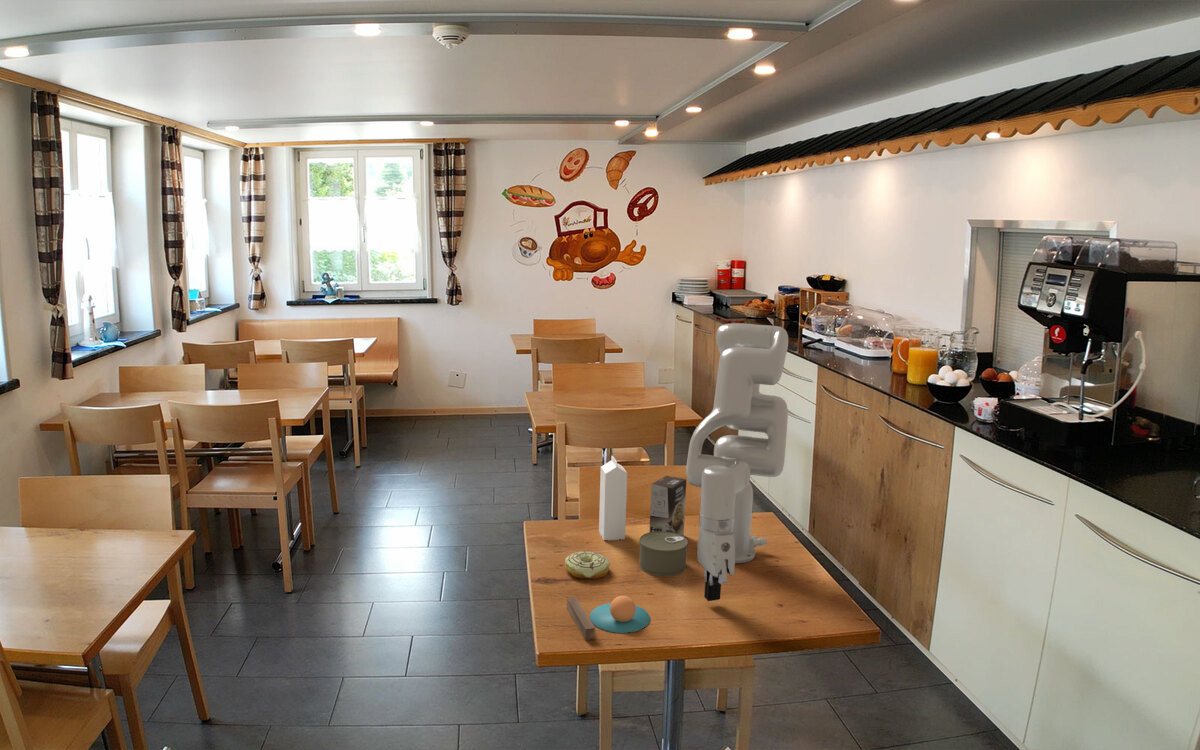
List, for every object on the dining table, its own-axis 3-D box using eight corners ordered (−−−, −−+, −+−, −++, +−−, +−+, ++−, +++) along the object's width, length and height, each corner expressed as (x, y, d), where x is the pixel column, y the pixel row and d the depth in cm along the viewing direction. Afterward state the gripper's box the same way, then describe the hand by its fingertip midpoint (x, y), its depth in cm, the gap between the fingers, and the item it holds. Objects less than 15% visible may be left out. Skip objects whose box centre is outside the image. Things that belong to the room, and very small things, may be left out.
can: (630, 560, 204) (631, 534, 203) (671, 553, 209) (673, 528, 208) (652, 580, 194) (653, 553, 192) (695, 572, 198) (697, 546, 197)
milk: (619, 531, 223) (622, 454, 218) (625, 539, 217) (628, 461, 213) (598, 532, 221) (600, 455, 217) (603, 541, 215) (605, 461, 211)
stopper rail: (575, 607, 179) (575, 597, 179) (594, 639, 166) (595, 627, 166) (566, 608, 178) (566, 598, 178) (585, 640, 165) (585, 629, 165)
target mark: (637, 600, 183) (637, 599, 183) (659, 628, 171) (659, 627, 171) (582, 607, 179) (582, 606, 179) (600, 636, 167) (600, 635, 167)
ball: (614, 587, 174) (601, 609, 174) (625, 599, 170) (611, 622, 169) (633, 596, 177) (620, 617, 177) (644, 608, 172) (631, 630, 172)
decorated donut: (592, 586, 190) (592, 571, 189) (556, 573, 196) (556, 559, 195) (616, 570, 199) (617, 556, 198) (581, 559, 205) (582, 545, 204)
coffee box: (669, 546, 213) (672, 488, 210) (648, 540, 217) (650, 483, 213) (684, 535, 221) (687, 478, 218) (663, 529, 224) (666, 474, 221)
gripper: (748, 533, 172) (742, 612, 176) (716, 508, 186) (712, 582, 190) (716, 536, 170) (711, 616, 174) (687, 511, 184) (683, 586, 187)
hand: (712, 598), depth 182 cm, fingers closed
